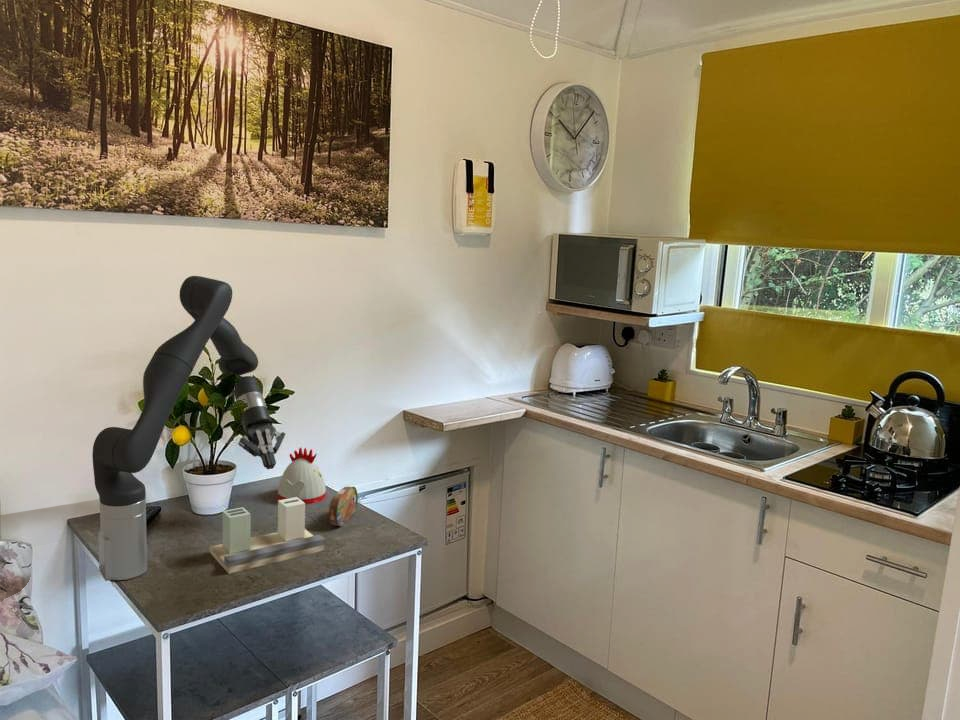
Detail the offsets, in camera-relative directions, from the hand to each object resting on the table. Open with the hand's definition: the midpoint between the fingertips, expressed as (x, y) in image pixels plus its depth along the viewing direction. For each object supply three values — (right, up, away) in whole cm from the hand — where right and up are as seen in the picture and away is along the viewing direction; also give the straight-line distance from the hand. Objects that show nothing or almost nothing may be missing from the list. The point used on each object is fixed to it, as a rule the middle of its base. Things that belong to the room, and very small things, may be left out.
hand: (271, 467), depth 192 cm
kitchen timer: (+2, -12, +24) cm, 27 cm away
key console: (+3, -19, -13) cm, 23 cm away
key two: (-4, -17, -16) cm, 24 cm away
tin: (+17, -16, +9) cm, 25 cm away
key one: (+7, -16, -8) cm, 19 cm away
